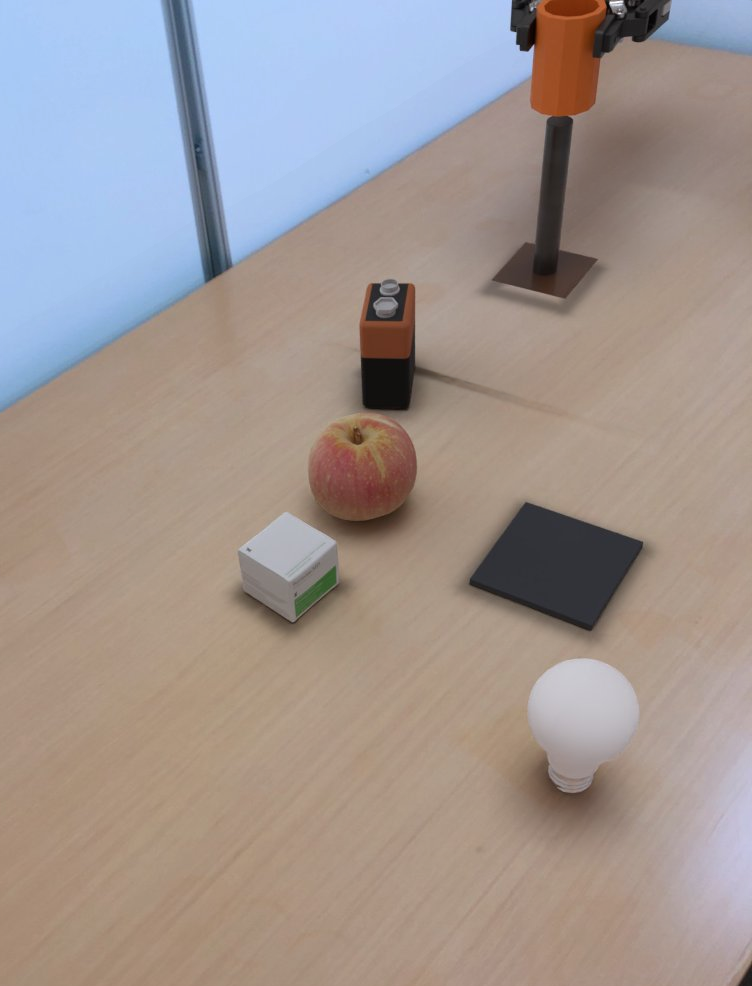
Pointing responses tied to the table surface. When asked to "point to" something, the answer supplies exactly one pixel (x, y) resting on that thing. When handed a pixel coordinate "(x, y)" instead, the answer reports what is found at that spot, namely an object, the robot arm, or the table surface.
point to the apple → (362, 466)
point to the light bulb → (581, 719)
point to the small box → (289, 566)
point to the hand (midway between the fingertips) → (560, 42)
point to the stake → (549, 226)
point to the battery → (387, 344)
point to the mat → (557, 565)
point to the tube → (565, 56)
